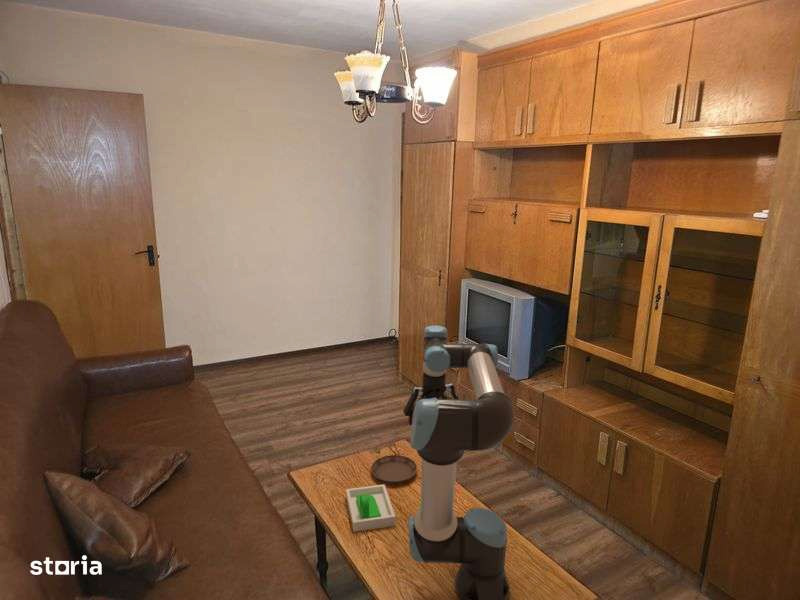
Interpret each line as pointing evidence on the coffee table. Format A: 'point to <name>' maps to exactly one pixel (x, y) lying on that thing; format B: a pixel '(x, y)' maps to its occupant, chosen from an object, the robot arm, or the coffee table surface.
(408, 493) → the coffee table surface
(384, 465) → the plant saucer
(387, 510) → the tray
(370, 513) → the mechanical part
